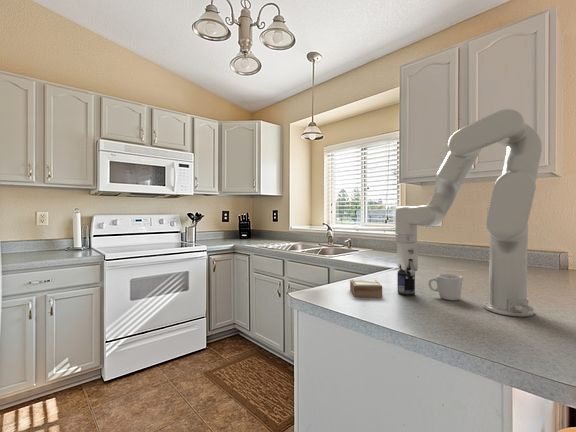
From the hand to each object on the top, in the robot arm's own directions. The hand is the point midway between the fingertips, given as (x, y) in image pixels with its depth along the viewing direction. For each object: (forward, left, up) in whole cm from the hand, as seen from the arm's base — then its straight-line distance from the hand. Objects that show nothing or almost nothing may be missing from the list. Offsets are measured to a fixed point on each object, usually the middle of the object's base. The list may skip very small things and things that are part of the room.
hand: (406, 286), depth 114 cm
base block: (0, +15, -3) cm, 15 cm away
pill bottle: (0, 0, -3) cm, 3 cm away
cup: (-5, -12, -3) cm, 13 cm away
